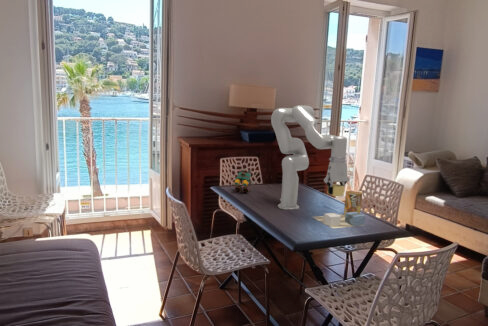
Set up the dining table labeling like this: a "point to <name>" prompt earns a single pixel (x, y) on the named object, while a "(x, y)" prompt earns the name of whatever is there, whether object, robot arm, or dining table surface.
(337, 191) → the mustard block
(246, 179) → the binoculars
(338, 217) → the cream block
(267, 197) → the dining table surface
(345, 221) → the build board
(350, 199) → the candy box
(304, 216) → the dining table surface
